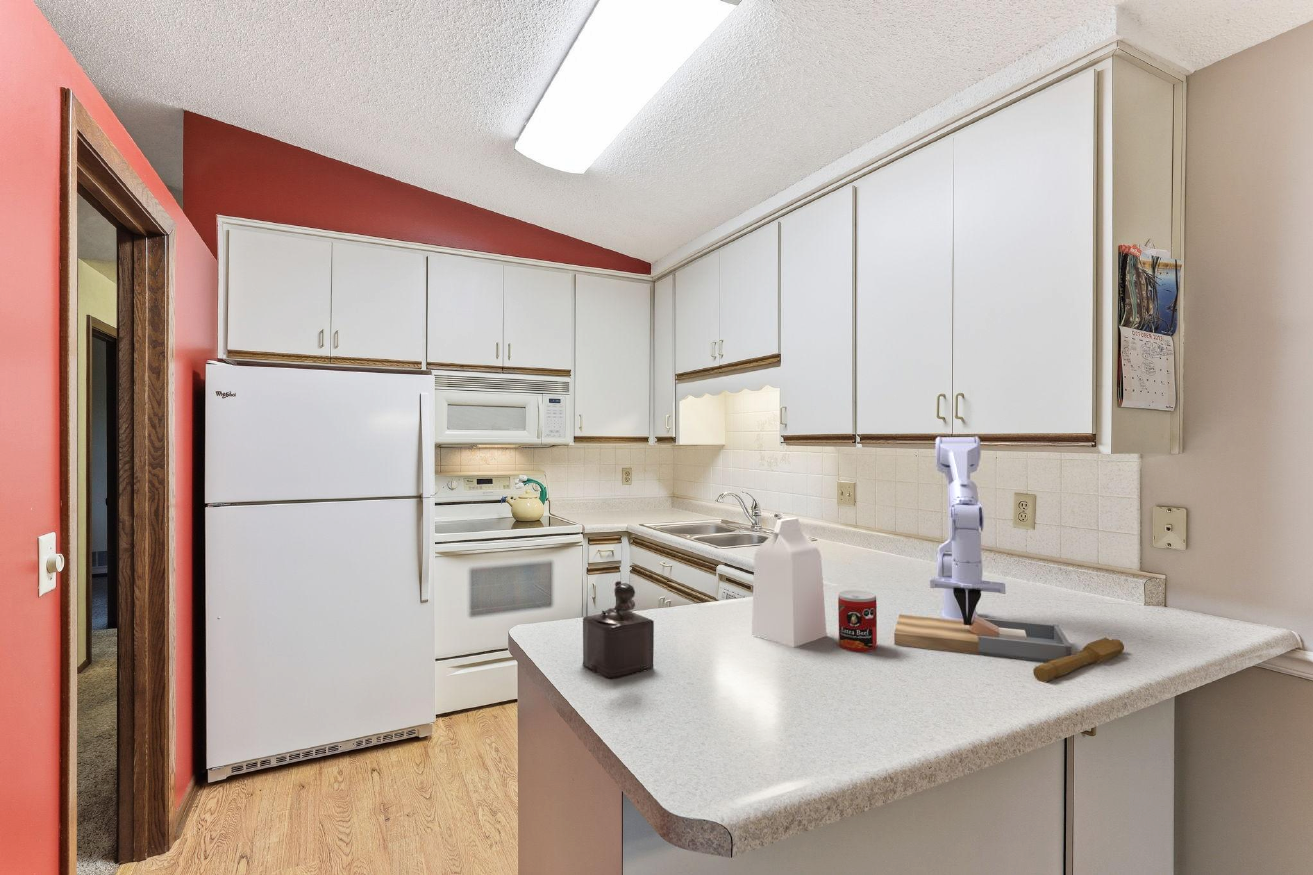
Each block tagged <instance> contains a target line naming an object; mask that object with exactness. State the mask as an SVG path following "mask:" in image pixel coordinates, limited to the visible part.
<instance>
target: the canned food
mask: <svg viewBox="0 0 1313 875" xmlns="http://www.w3.org/2000/svg"><path fill="white" fill-rule="evenodd" d="M837 597H838V598H837V604H838V610H837V611H838V644H839V646H840V647H841V648H842V649H843V650H846V651H850V652H858V653H865V652H871V651H872V652H873V651H874V650H875V649H876V648H877V644H878V638H877V637H878V636H877V635H878V634H877V633H878V632H877V631H878V626H877V624H878V623H877V611H878V610H877V609H878V608H877V594H875V593H874V592H872V591H871V592H870V591H866V590H859V589H849V590H842V591H839V592H838V596H837Z"/></svg>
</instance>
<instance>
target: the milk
mask: <svg viewBox="0 0 1313 875" xmlns="http://www.w3.org/2000/svg"><path fill="white" fill-rule="evenodd" d="M753 561H754V564H753V585H752V586H753V590H752V592H753V593H752V618H751V620H752V621H751V636H752V635H756V636H760V637H763V638H767V639H769V640H773V641H775V642H774V643H776V642H779V643H778V644H780V643H781V644H780V645H783V644H784V646H787V645H788V646H787V647H791V648H796V647H799V646H802V645H804V644H807V643H811V642H813V641H816V640H819V639H821V638H824V637H827V633H828V632H827V620H826V608H825V607H826V606H825V605H826V604H825V593H824V580H823V579H824V578H823V566H822V565H823V563H822V555H821V551H820V550H819V548H818V547H817V546H816V544H814V542H813V541H812V540H811V538H809V537H808V536H807V535H806V534H805V532H804V531H802V529H801V524H800V521H799V518H798V517H791V518H784V519H777V520H776V523H775V526H774V530H773V533H772V534H771V535H770V536H769V537H767V539H766V540H765V541H764V542H763V543H762V544H761V545H760V546H759V547H758V548H757V549H756V551H755V553H754V560H753ZM769 640H768V641H769ZM773 641H772V642H773Z"/></svg>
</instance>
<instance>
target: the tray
mask: <svg viewBox="0 0 1313 875" xmlns="http://www.w3.org/2000/svg"><path fill="white" fill-rule="evenodd" d="M981 618H982V619H984V620H986V621H988V622H990V623H992V624H994V625H996V626H998V628H1008V629H1018V630H1025V633H1026V636H1027V641H1025V640H1015V639H1005V638H998V637H997V638H996V637H986V636H979V635H978V642H979V654H978V656H979V655H981V656H990V657H996V658H997V657H999V658H1005V659H1006V658H1007V659H1016V660H1023V661H1031V662H1032V661H1033V662H1040V663H1041V662H1042V663H1047V662H1050V661H1053V660H1056V659H1060V658H1063V657H1067V656H1071V655H1073V646H1072V645H1071V643H1070V642H1069V640H1068V638H1067V637H1066V635H1065V634H1064V632H1063V630H1062V628H1061V627H1060V625H1059V624H1052V623H1043V622H1033V621H1032V622H1030V621H1021V620H1019V621H1018V620H1010V619H998V618H988V617H981Z"/></svg>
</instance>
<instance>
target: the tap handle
mask: <svg viewBox="0 0 1313 875" xmlns="http://www.w3.org/2000/svg"><path fill="white" fill-rule="evenodd" d="M1124 650H1125V645H1124V643H1123V642H1122V641H1121V640H1119V639H1117V638H1111V639H1110V638H1108V637H1106V636H1105V637H1103V638H1100V639H1097V640H1095V641H1091V642H1088V643H1086V645H1085V646H1084V647H1083V648H1082V649H1081V650H1080V651H1079V652H1078V653H1076V654H1075V653H1074V654H1072V655H1071V656H1067V657H1063V658H1060V659H1056V660H1053V661H1050V662H1043V663H1041V664H1038V665H1036V666H1034V668H1033V669H1032V673H1033V676H1034V677H1035V679H1036V681H1039V682H1042V683H1046V682H1050V681H1051V680H1054V679H1057V678H1058V677H1062V676H1065V675H1067V674H1068V673H1070V672H1072V671H1075V670H1076V669H1078V668H1080V667H1083V666H1085V665H1091V664H1095V665H1096V664H1099V663H1102V662H1104V661H1107V660H1109V659H1112V658H1114V657H1117V656H1118V655H1119V654H1121V653H1123V652H1124Z"/></svg>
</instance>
